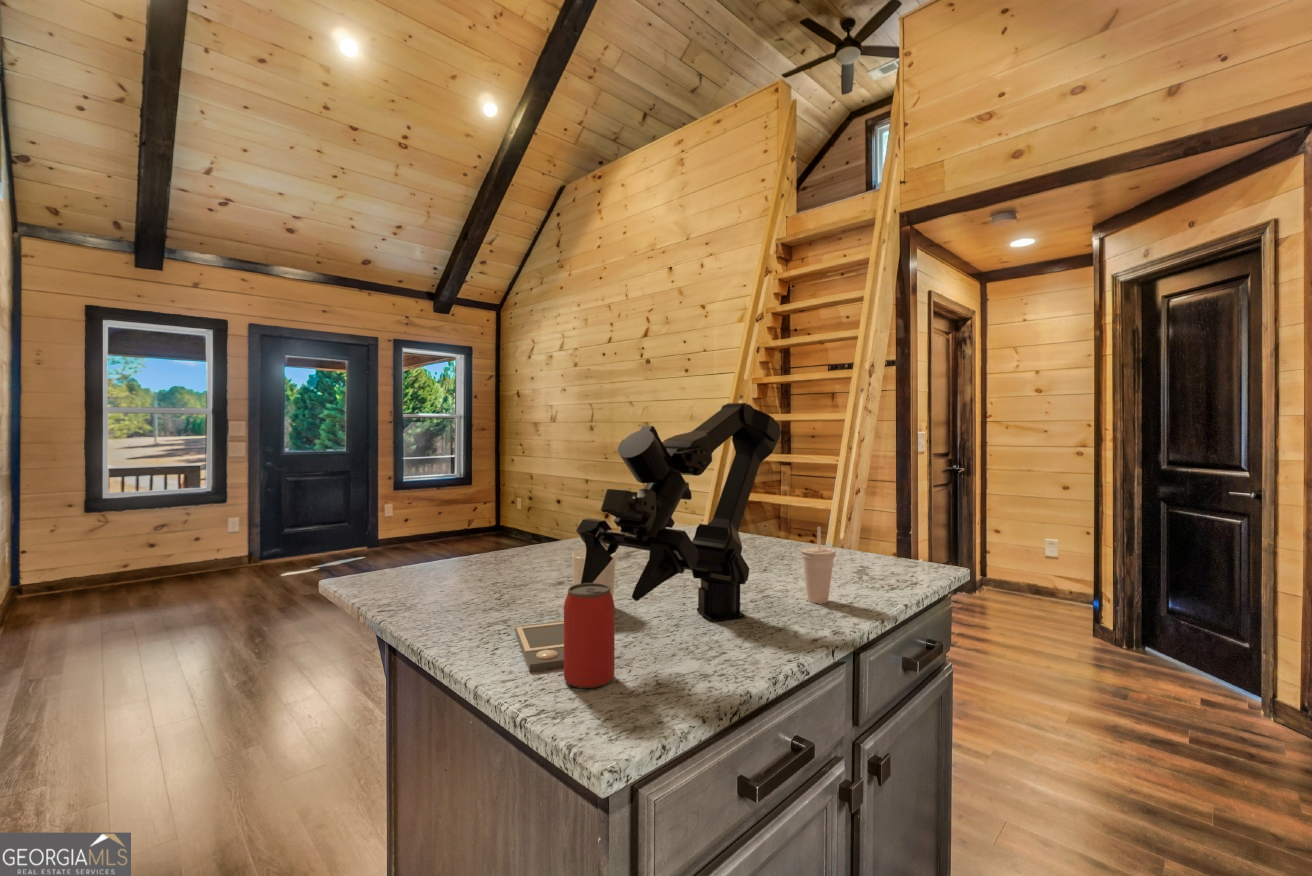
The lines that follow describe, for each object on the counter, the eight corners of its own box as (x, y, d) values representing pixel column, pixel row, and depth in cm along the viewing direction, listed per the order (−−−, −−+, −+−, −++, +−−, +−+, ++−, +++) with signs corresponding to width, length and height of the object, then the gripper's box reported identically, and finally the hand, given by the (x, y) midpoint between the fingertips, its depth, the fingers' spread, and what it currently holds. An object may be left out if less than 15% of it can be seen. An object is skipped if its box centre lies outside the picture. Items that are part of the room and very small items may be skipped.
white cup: (618, 602, 111) (618, 549, 111) (611, 616, 103) (611, 559, 103) (577, 601, 112) (577, 548, 111) (567, 614, 104) (567, 558, 104)
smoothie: (839, 599, 113) (839, 526, 113) (829, 608, 108) (830, 531, 107) (806, 594, 117) (807, 523, 116) (795, 602, 111) (796, 528, 111)
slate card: (576, 625, 98) (576, 618, 98) (601, 661, 83) (601, 653, 83) (515, 632, 95) (514, 625, 95) (529, 671, 80) (529, 663, 80)
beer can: (593, 695, 73) (593, 598, 73) (553, 682, 76) (552, 590, 76) (624, 676, 78) (624, 586, 78) (585, 665, 82) (585, 579, 82)
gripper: (585, 465, 90) (529, 549, 81) (687, 470, 79) (635, 569, 70) (618, 511, 96) (569, 593, 87) (717, 522, 85) (673, 618, 76)
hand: (607, 593), depth 80 cm, fingers open, 9 cm apart
